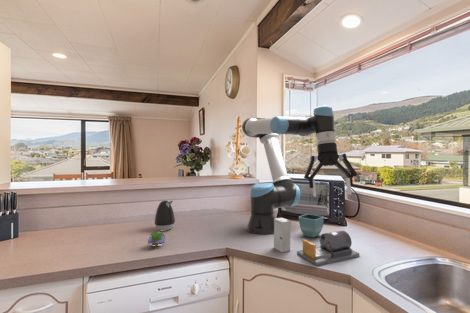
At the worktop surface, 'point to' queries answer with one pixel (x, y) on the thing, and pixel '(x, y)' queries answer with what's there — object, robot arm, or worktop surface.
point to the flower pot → (311, 224)
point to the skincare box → (282, 234)
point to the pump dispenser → (164, 216)
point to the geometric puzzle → (156, 238)
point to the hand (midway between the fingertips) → (331, 195)
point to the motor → (329, 249)
